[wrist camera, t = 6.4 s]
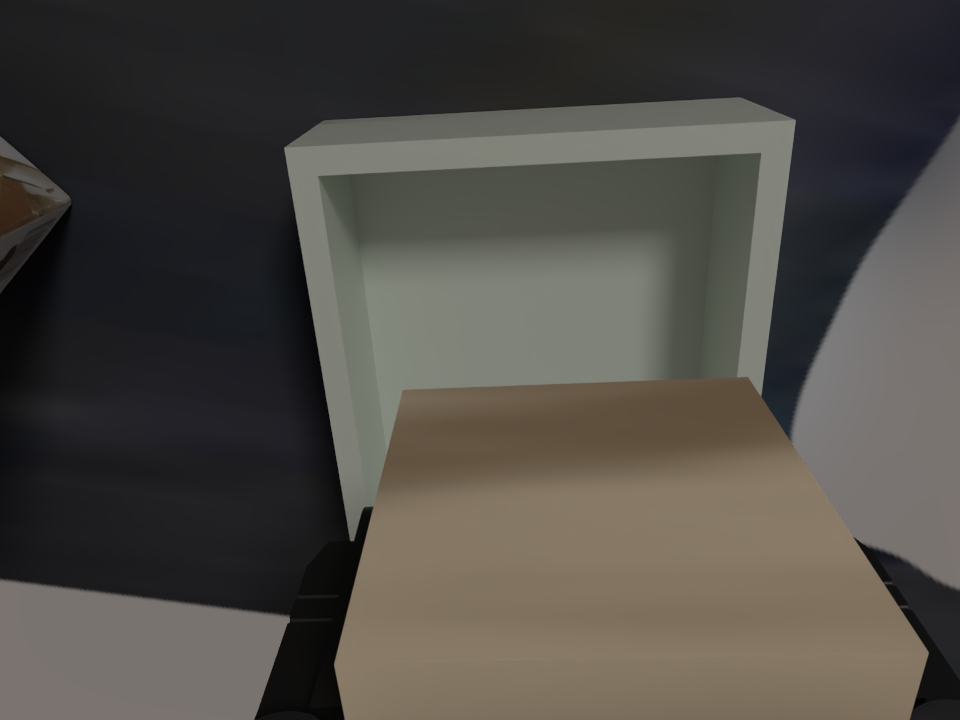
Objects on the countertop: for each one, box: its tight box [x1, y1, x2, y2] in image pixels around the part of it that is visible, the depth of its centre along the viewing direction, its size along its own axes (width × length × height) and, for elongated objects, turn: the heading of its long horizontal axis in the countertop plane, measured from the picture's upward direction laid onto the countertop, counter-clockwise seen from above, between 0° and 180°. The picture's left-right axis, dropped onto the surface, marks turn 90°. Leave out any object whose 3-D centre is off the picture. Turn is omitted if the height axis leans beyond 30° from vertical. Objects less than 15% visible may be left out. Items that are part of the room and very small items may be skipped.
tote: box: [284, 97, 796, 541], centre depth 26 cm, size 18×14×5 cm
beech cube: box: [334, 377, 929, 720], centre depth 10 cm, size 5×5×5 cm
